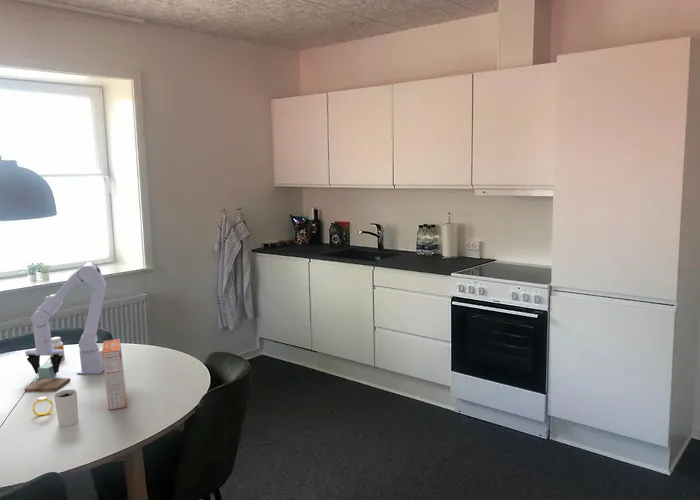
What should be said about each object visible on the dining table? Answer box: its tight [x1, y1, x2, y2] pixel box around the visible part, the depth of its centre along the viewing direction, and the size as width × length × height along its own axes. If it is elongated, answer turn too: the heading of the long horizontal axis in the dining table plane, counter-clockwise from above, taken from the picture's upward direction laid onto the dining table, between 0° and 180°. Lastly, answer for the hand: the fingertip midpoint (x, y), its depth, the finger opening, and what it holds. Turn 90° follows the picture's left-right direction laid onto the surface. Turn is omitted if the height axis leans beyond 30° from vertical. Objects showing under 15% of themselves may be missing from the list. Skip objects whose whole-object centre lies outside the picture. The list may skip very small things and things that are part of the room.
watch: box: [32, 396, 54, 417], centre depth 197 cm, size 6×3×6 cm, turn 115°
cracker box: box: [102, 338, 127, 411], centre depth 204 cm, size 14×6×21 cm, turn 21°
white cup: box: [53, 388, 79, 427], centre depth 190 cm, size 7×7×10 cm
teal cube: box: [37, 363, 57, 379], centre depth 232 cm, size 4×4×4 cm
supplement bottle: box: [49, 336, 66, 361], centre depth 252 cm, size 5×5×10 cm
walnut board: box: [24, 377, 71, 393], centre depth 222 cm, size 12×10×1 cm
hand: (47, 372), depth 232 cm, fingers open, 7 cm apart
